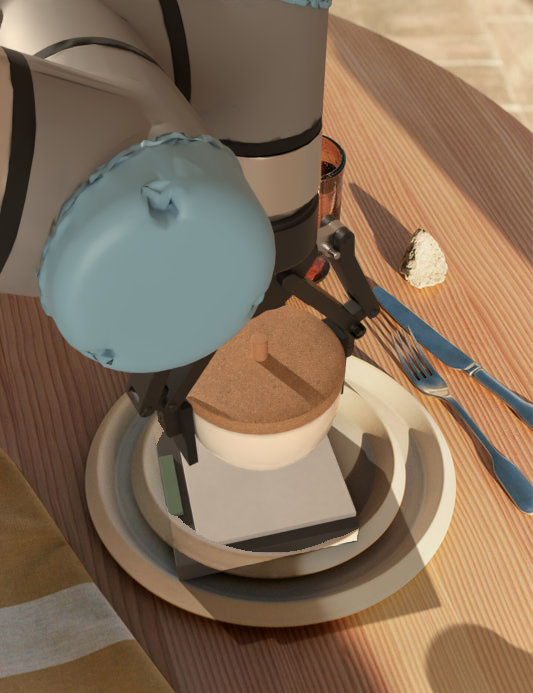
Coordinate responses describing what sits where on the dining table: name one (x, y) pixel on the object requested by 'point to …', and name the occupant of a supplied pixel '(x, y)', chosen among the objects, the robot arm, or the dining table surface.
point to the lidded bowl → (270, 391)
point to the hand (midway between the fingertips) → (261, 417)
